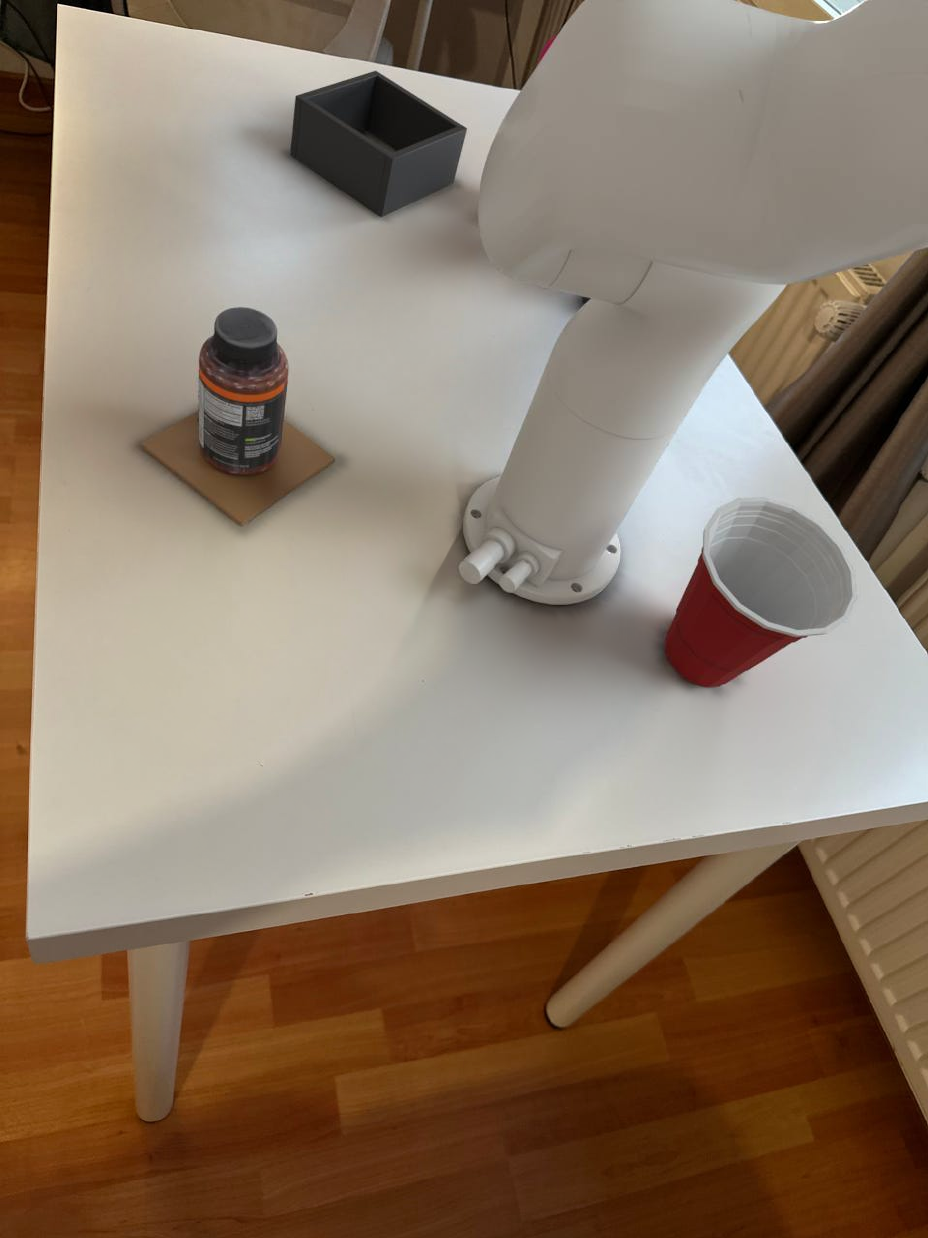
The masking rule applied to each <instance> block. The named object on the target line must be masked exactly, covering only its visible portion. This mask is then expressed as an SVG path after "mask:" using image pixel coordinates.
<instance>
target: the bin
mask: <svg viewBox="0 0 928 1238" xmlns="http://www.w3.org/2000/svg"><path fill="white" fill-rule="evenodd" d="M293 108H294V109H293V110H294V111H293V120H292V128H291V129H292V130H291V138H290V139H291V140H290V151H289V155H290V156H291V157H292V158H294V159H295V160H297V161H299V162H300V163H301V164H303V165H304V166H306V167H307V168H309V169H310V170H312V171H313V172H315V173H316V174H318V175H319V176H321V177H322V178H323V179H325V180H326V181H328V182H329V183H331V184H333V185H334V186H336V187H337V188H338V189H340V190H341V191H343V192H344V193H346V194H347V195H349V196H350V197H352V198H353V199H355V200H356V201H358V202H359V203H360V204H362V205H364V206H365V207H367V208H368V209H369V210H371V211H372V212H375V214H377V215H379V216H380V217H382V218H383V217H385V216H387V215H389V214H391V213H393V212H395V211H397V210H399V209H402V208H404V207H405V206H408V205H410V204H412V203H415V202H417V201H418V200H420V199H423V198H425V197H428V196H429V195H432V194H433V193H436V192H438V191H439V190H442V189H444V188H446V187H448V186H451V185H453V184H454V183H455V178H456V176H457V171H458V166H459V163H460V158H461V156H462V155H461V154H462V151H463V147H464V143H465V140H466V135H467V131H468V128H467V127H466V126H464V125H462V124H461V123H459V122H458V121H456V120H455V119H453V118H452V117H450V116H449V115H447V114H445V113H443V112H442V111H440V110H439V109H437V108H436V107H434V106H433V105H431V104H429V102H427V101H425V100H423V99H422V98H420V97H418V96H417V95H415V94H413V93H412V92H410V91H409V90H408V89H405V88H404V87H403V86H401V85H399V84H398V83H396V82H394V81H393V80H392V79H390V78H388V77H387V76H386V75H383V74H381V73H380V72H379V71H377V70H374V71H370V72H367V73H364V74H361V75H358V76H354V77H351V78H348V79H344V80H341V81H338V82H335V83H332V84H329V85H326V86H322V87H319V88H316V89H313V90H309V91H306V92H303V93H300V94H297V95H295V97H294V107H293ZM365 133H369V134H371V135H373V136H374V137H375V138H376V139H378V140H380V141H381V142H383V143H385V144H386V145H388V146H389V147H391V148H392V149H394V150H395V151H394V152H391V151H388V150H387V149H385V148H384V147H382V146H380V145H379V144H378V143H376V142H375V141H373V140H371V138H368V137H367V136H365V135H364V134H365Z"/></svg>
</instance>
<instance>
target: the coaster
mask: <svg viewBox="0 0 928 1238" xmlns="http://www.w3.org/2000/svg"><path fill="white" fill-rule="evenodd" d="M198 418H199V410H198V411H196V412H194V413H192V414H190V415H189V416H187V417H185V418H183V419H182V420H180V421H179V422H177V423H175V424H173V425H171V426H169V427H168V428H166V429H164V430H163V431H161V432H159V433H157V434H156V435H153V436H152V437H150V438H148V439H146V440H145V441H143V442H142V443H141V445H140V446H141V449H143V450H144V451H145V452H146V453H148V454H149V455H151V456H152V457H153V458H155V459H156V460H157V461H158V462H160V463H161V464H162V465H163V466H164V467H166V468H167V469H168V470H170V471H171V472H172V473H174V474H175V475H176V477H177V476H178V478H180V479H181V480H182V481H184V483H186V484H187V485H189V486H190V487H191V488H192V489H194V490H195V491H196V492H198V494H200V495H201V496H203V497H204V498H205V499H206V500H208V501H209V502H210V503H211V504H213V505H214V506H215V507H217V508H218V509H219V510H220V511H221V512H223V513H224V514H225V515H227V516H228V518H230V519H232V520H233V521H235V522H236V523H237V524H238V525H239V526H241V527H243V526H244V525H246V524H247V523H249V522H250V521H252V520H253V519H254V518H256V517H257V516H259V515H260V514H262V513H263V512H265V511H266V510H268V509H269V508H270V507H271V506H274V504H276V503H278V502H279V501H280V500H282V499H283V498H285V497H287V496H288V495H289V494H290V493H292V492H293V491H295V490H296V489H298V488H299V487H301V486H302V485H303V484H304V483H306V482H308V481H309V480H311V479H312V478H313V477H315V476H316V475H318V474H319V473H320V472H322V471H323V470H324V469H326V468H328V467H329V466H331V465H332V464H333V463H335V462H336V457H335V456H334V455H333V454H331V453H330V452H328V451H327V450H326V449H324V448H323V447H322V446H320V445H319V444H317V442H315V441H313V439H311V438H310V437H308V436H307V435H306V434H304V433H303V432H302V431H300V430H299V429H298V428H296V427H295V426H293V425H292V424H291V423H290V422H288V421H287V420H286V419H284V422H283V432H282V442H281V449H280V453H279V456H278V459H277V460H276V462H275V463H274V464H273V465H272V466H271V467H270V468H269V469H267V470H265V471H263V472H260V473H257V474H253V475H244V476H243V475H233V474H229V473H225V472H223V471H221V470H218V469H217V468H215V467H214V466H212V465H211V464H210V463H209V462H208V461H207V460H206V459H205V458H204V456H203V454H202V452H201V449H200V446H199V434H198V433H199V425H198V424H199V420H198V421H197V419H198Z"/></svg>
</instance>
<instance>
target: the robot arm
mask: <svg viewBox="0 0 928 1238" xmlns="http://www.w3.org/2000/svg"><path fill="white" fill-rule="evenodd" d="M556 35H557V37H556V39H555V40H554V42H553V43H552V45H551V46H550V48H549V49H548V51H547V52H546V54H545V55H544V57H543V58H542V60H541V61H540V63H539V62H538V64H537V66H536V67H535V69H534V70H533V72H532V73H531V75H530V77H529V78H528V79H527V81H526V82H525V84H524V86H523V87H522V88H521V90H520V91H519V93H518V94H517V96H516V98H515V99H514V100H513V102H512V104H511V106H510V107H509V109H508V110H507V112H506V114H505V115H504V118H503V119H502V121H501V123H500V124H499V127H498V129H497V131H496V133H495V135H494V138H493V140H492V143H491V145H490V148H489V150H488V153H487V156H486V159H485V162H484V164H483V165H484V166H483V169H482V173H481V178H480V184H479V191H478V198H477V199H478V200H477V223H478V231H479V235H480V239H481V243H482V246H483V249H484V252H485V253H486V256H487V258H488V259H489V261H490V262H491V264H492V265H493V266H494V267H495V268H496V269H497V271H499V272H500V273H502V274H503V275H505V276H506V277H508V278H510V279H512V280H515V281H518V282H521V283H524V284H529V285H533V286H536V287H541V288H544V289H548V290H553V291H557V292H561V293H565V294H570V295H575V296H578V297H582V298H583V297H587V298H591V299H590V300H589V301H588V302H587V303H585V304H583V305H582V306H581V307H580V308H579V309H577V311H576V312H575V313H574V314H573V315H572V317H571V318H570V319H569V320H568V321H567V322H566V324H565V326H564V327H563V329H562V330H561V332H560V333H559V335H558V336H557V338H556V341H555V343H554V345H553V348H552V350H551V352H550V355H549V357H548V360H547V363H546V364H545V366H544V367H545V368H544V370H543V373H542V375H541V377H540V380H539V383H538V385H537V387H536V390H535V392H534V394H533V396H532V399H531V402H530V404H529V407H528V409H527V412H526V414H525V417H524V419H523V421H522V424H521V426H520V429H519V431H518V434H517V436H516V439H515V442H514V443H513V445H512V446H513V447H512V449H511V451H510V453H509V456H508V458H507V461H506V463H505V466H504V468H503V470H502V473H501V475H498V476H495V477H492V478H491V479H489V480H486V481H485V482H484V483H482V484H481V485H479V487H478V488H477V489H475V491H474V492H473V494H472V496H471V497H470V498H469V500H468V503H467V506H466V508H465V510H464V513H463V520H462V533H463V534H462V535H463V537H464V542H465V545H466V547H467V549H468V551H469V554H468V555H467V556H466V557H465V558H463V560H461V561H460V562H459V564H458V567H457V568H458V573H459V574H460V576H461V578H462V579H463V580H464V581H465V582H466V583H469V584H471V585H478V584H479V583H480V582H481V581H482V580H483V579H484V578H485V577H486V576H488V577H489V578H490V579H491V580H492V581H493V582H494V583H496V584H497V585H499V586H500V588H501V589H502V590H503V592H506V593H509V594H514V595H516V596H518V597H520V598H523V599H526V600H529V601H532V602H535V603H540V604H546V605H551V606H552V605H553V606H554V605H555V606H556V605H560V606H563V605H564V606H568V605H573V604H578V603H579V604H580V603H581V602H582V603H583V602H585V601H589V600H590V599H593V598H594V597H596V596H597V595H599V594H600V593H601V592H603V591H604V589H606V587H607V586H608V585H609V584H610V583H611V581H612V579H613V578H614V576H615V574H616V573H617V571H618V568H619V565H620V562H621V552H622V551H621V544H620V538H619V536H618V530H619V528H620V527H621V525H622V523H623V521H624V520H625V518H626V517H627V515H628V513H629V512H630V510H631V508H632V507H633V505H634V503H635V502H636V500H637V498H638V496H639V495H640V493H641V492H642V490H643V488H644V486H645V485H646V483H647V482H648V480H649V478H650V477H651V475H652V473H653V471H654V470H655V469H656V467H657V465H658V463H659V462H660V460H661V458H662V456H663V455H664V454H665V451H666V450H667V448H668V447H669V445H670V444H671V441H672V440H673V439H674V437H675V435H676V433H677V431H678V430H679V428H680V427H681V426H682V424H683V423H684V421H685V419H686V417H688V414H689V412H690V411H691V409H692V408H693V406H694V405H695V403H696V401H697V400H698V398H699V396H700V394H701V393H702V392H703V390H704V388H705V387H706V385H707V384H708V382H709V380H710V379H711V377H712V376H713V375H714V373H715V372H716V371H717V369H718V368H719V366H720V365H721V363H722V362H723V361H724V359H725V358H726V357H727V356H728V354H729V353H730V352H731V351H732V349H733V348H734V347H735V346H736V344H738V342H739V341H740V340H741V338H742V337H743V336H744V335H745V334H746V333H747V332H748V331H749V329H751V328H752V327H753V325H755V324H756V322H757V321H758V320H759V319H761V317H762V316H763V315H764V313H765V312H766V311H767V310H768V309H770V307H771V305H773V304H774V302H775V301H776V300H777V298H778V297H779V296H780V295H781V293H783V291H784V290H785V288H786V287H787V285H796V284H800V283H806V282H807V283H808V282H811V281H814V280H818V279H821V278H825V277H828V276H832V275H835V274H837V273H841V272H845V271H849V270H851V269H855V268H859V267H862V266H866V265H870V264H873V263H876V262H880V261H884V260H888V259H890V258H894V257H895V258H896V257H898V256H901V255H905V254H908V253H912V252H916V251H920V250H923V249H926V248H928V0H862V1H861V2H860V3H858V4H857V5H855V6H853V7H852V8H851V9H849V10H848V11H845V12H844V13H842V14H841V15H839V16H837V17H834V18H833V19H830V20H825V21H817V20H809V19H804V18H798V17H792V16H789V15H785V14H780V13H776V12H773V11H769V10H766V9H763V8H759V7H757V6H753V5H749V4H746V3H743V2H740V1H736V0H584V1H582V2H581V3H580V4H579V6H578V7H577V8H576V9H575V11H574V12H573V13H572V15H571V16H569V18H568V20H567V21H566V22H565V24H564V25H563V26H562V28H561V29H560V31H559V33H558V34H556Z"/></svg>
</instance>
